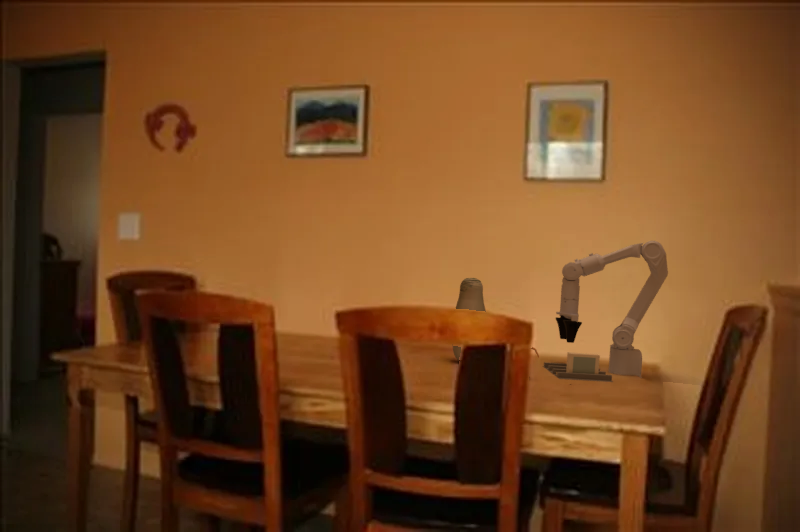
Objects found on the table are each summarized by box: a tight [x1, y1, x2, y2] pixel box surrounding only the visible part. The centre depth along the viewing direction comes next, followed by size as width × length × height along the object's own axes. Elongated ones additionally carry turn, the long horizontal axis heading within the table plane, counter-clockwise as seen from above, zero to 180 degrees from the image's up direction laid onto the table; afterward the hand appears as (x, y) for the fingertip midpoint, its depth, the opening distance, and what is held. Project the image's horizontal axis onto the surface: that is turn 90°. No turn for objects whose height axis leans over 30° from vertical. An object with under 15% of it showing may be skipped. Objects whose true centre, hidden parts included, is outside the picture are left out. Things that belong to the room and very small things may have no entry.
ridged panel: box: [542, 361, 614, 383], centre depth 194 cm, size 16×20×2 cm
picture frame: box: [566, 352, 601, 374], centre depth 188 cm, size 9×2×7 cm, turn 91°
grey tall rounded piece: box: [452, 277, 487, 361], centre depth 207 cm, size 10×10×28 cm
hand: (566, 340), depth 205 cm, fingers open, 7 cm apart
